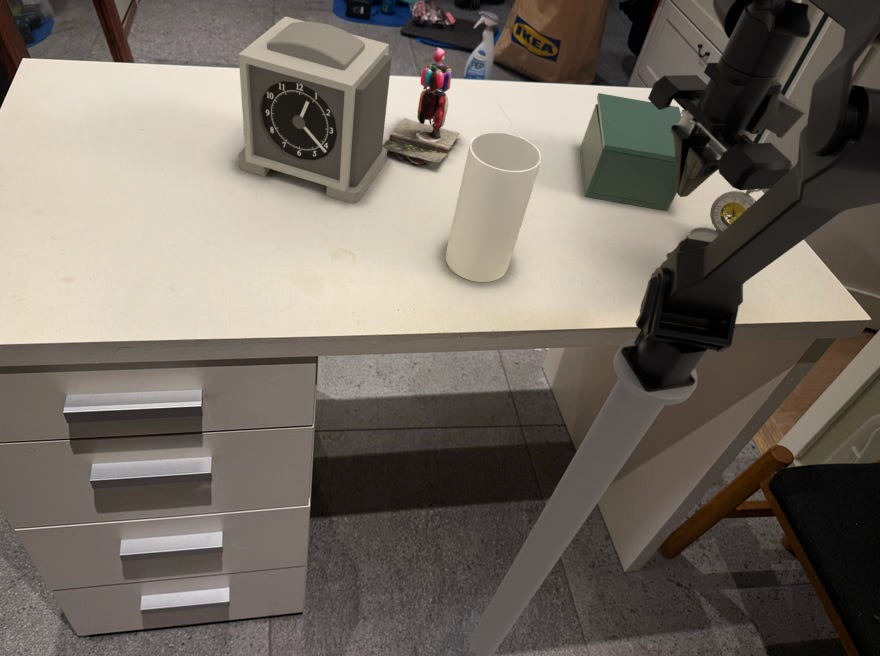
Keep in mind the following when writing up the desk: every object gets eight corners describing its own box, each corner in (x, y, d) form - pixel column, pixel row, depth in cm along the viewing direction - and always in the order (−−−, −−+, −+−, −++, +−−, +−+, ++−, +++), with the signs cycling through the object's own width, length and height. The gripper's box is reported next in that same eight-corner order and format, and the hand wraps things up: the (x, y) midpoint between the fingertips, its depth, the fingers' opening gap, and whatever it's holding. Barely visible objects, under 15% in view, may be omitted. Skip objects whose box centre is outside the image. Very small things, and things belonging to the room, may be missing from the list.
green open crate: (579, 148, 108) (595, 103, 102) (655, 162, 108) (676, 117, 102) (584, 196, 99) (602, 149, 93) (667, 210, 99) (690, 165, 93)
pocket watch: (686, 256, 92) (721, 195, 84) (683, 221, 97) (715, 161, 90) (745, 270, 91) (785, 210, 84) (738, 234, 97) (776, 175, 89)
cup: (434, 265, 84) (457, 154, 72) (460, 233, 89) (486, 123, 77) (493, 291, 82) (527, 181, 70) (516, 256, 87) (551, 147, 75)
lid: (596, 97, 102) (598, 92, 101) (676, 111, 102) (679, 106, 101) (602, 149, 93) (604, 144, 92) (691, 165, 93) (693, 160, 92)
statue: (402, 130, 107) (417, 31, 98) (457, 145, 106) (477, 47, 96) (378, 154, 99) (392, 50, 89) (437, 171, 98) (457, 67, 88)
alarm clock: (235, 167, 93) (224, 35, 79) (276, 125, 102) (273, -2, 88) (356, 204, 91) (367, 74, 77) (388, 157, 99) (402, 33, 86)
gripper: (877, 110, 62) (786, 240, 74) (761, 23, 74) (697, 148, 85) (781, 113, 60) (702, 248, 71) (675, 23, 71) (622, 152, 83)
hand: (681, 194), depth 78 cm, fingers closed
